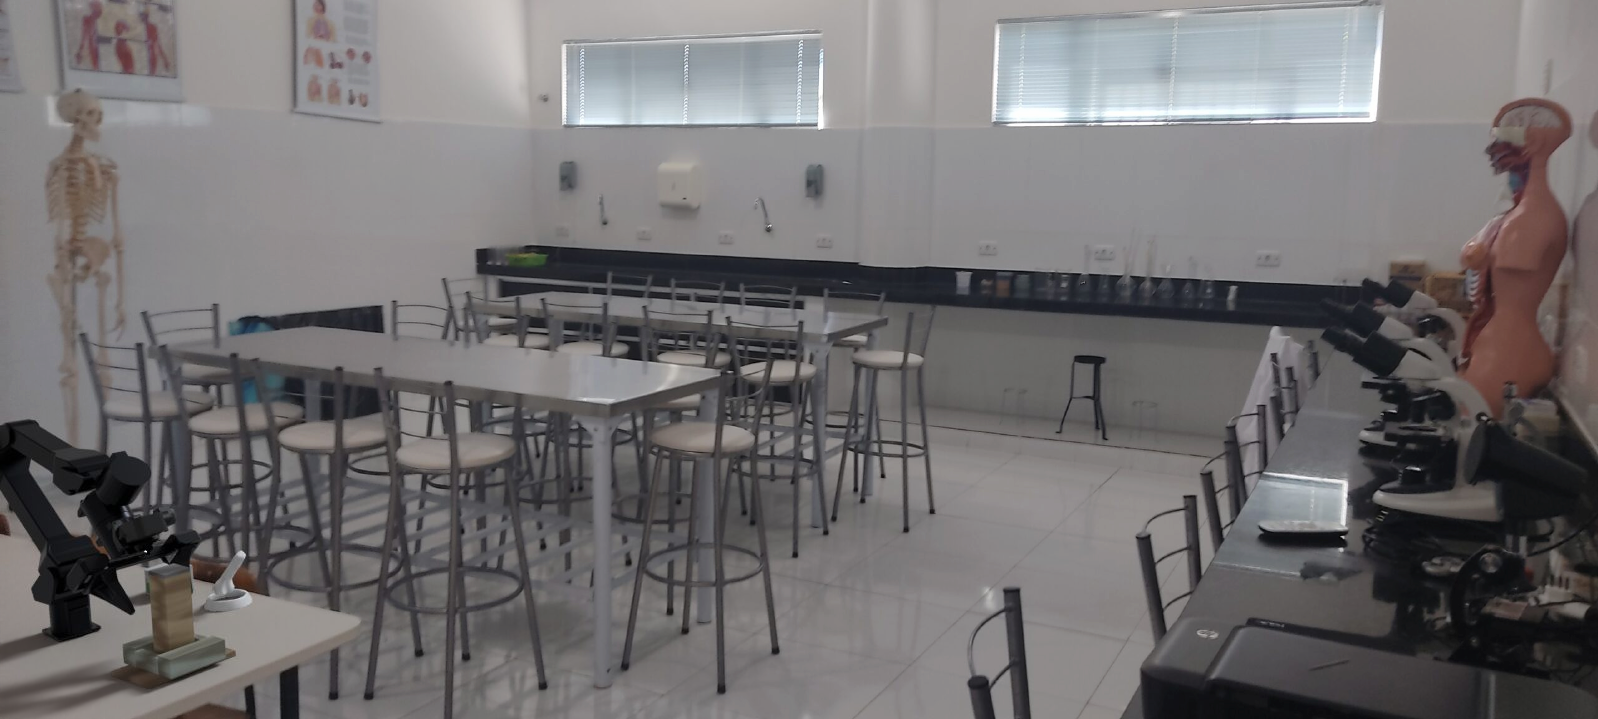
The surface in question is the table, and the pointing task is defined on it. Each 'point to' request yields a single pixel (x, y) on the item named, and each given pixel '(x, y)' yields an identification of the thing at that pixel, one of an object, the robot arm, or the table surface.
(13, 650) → the table surface
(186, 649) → the socket
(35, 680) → the table surface
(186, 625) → the rail post
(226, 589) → the white stemmed ring
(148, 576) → the small box
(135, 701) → the table surface
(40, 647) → the table surface
